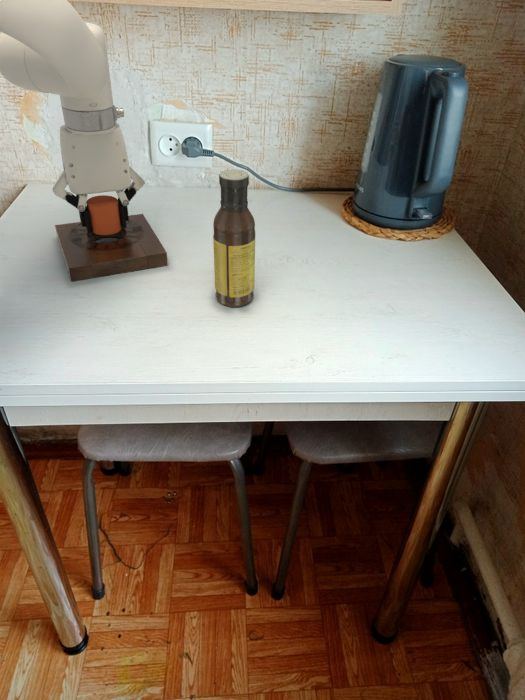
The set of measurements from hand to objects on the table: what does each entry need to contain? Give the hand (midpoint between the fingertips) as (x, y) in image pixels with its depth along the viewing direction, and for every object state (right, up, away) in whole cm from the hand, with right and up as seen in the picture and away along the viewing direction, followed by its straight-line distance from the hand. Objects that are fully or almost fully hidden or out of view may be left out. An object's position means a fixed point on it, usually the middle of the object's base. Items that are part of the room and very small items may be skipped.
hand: (105, 226), depth 89 cm
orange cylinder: (0, 0, 0) cm, 0 cm away
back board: (+1, -4, +1) cm, 4 cm away
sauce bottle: (+23, -14, -8) cm, 28 cm away
